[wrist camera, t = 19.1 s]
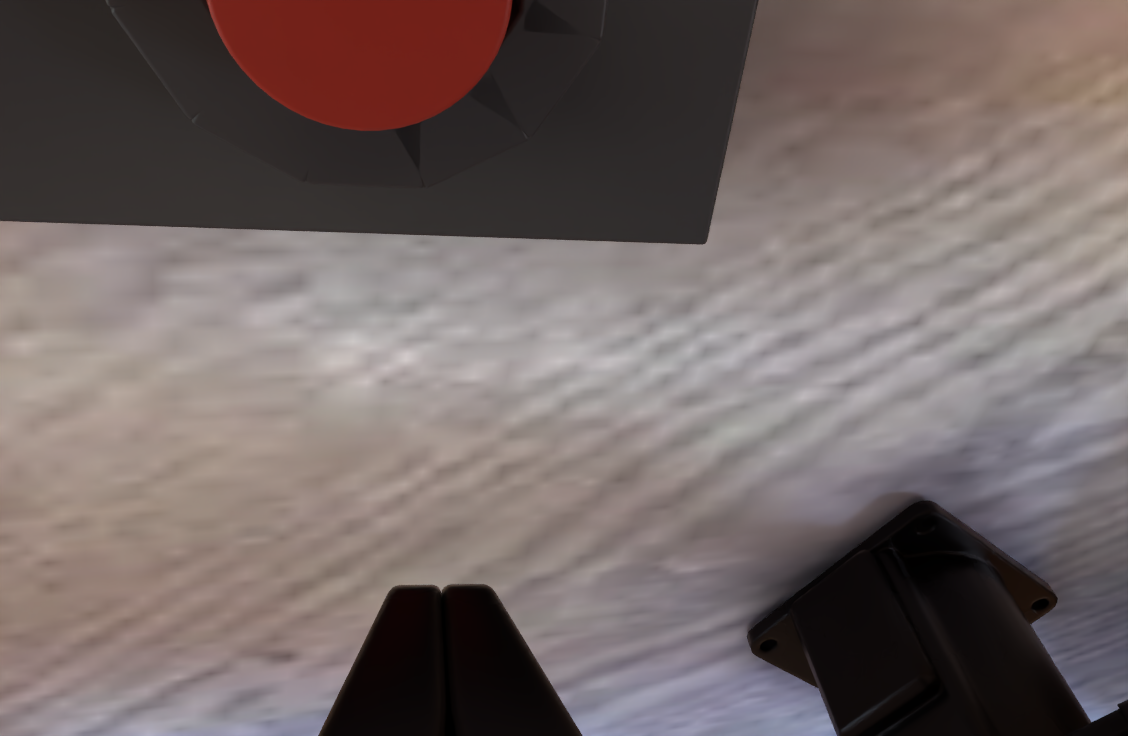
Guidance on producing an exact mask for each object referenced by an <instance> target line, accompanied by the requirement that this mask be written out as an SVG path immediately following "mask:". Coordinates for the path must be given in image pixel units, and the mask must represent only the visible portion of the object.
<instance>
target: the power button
mask: <svg viewBox="0 0 1128 736" xmlns="http://www.w3.org/2000/svg"><path fill="white" fill-rule="evenodd" d="M512 1H513V0H207V4H208V7H209V11H210V14H211V17H212V19H213V22H214V24H215V26H216V29H217V31H218V33H219V36H220V37H221V39H222V41H223V43H224V44H225V46H226V48H227V49H228V51H229V53H230V54H231V56H232V57H233V58H234V60H235V61H236V62H237V64H238V65H239V66H240V68H241V69H242V70H243V71H244V72H245V73H246V74H247V76H248V77H249V78H250V79H251V80H252V81H253V82H254V83H255V84H256V85H257V86H258V87H260V88H261V89H262V90H263V91H264V92H266V93H267V94H268V95H269V96H270V97H272V98H273V99H275V100H276V101H278V102H279V103H281V104H282V105H284V106H285V107H287V108H288V109H290V110H292V111H294V112H296V113H298V114H300V115H302V116H304V117H306V118H309V119H312V120H314V121H317V122H320V123H323V124H326V125H330V126H334V127H338V128H343V129H351V130H360V131H381V130H388V129H395V128H401V127H405V126H409V125H412V124H416V123H419V122H421V121H424V120H426V119H429V118H431V117H434V116H435V115H437V114H439V113H441V112H442V111H444V110H446V109H448V108H449V107H451V106H452V105H453V104H455V103H456V102H457V101H459V100H460V99H461V98H463V97H464V96H465V95H466V94H467V93H468V92H469V91H470V90H471V89H472V88H473V87H474V86H475V85H476V84H477V83H478V82H479V80H480V79H481V78H482V77H483V75H484V74H485V73H486V72H487V70H488V69H489V67H490V65H491V64H492V62H493V60H494V59H495V57H496V55H497V54H498V51H499V49H500V47H501V44H502V42H503V39H504V37H505V34H506V31H507V27H508V23H509V20H510V15H511V8H512Z"/></svg>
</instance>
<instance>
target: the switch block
mask: <svg viewBox="0 0 1128 736" xmlns="http://www.w3.org/2000/svg"><path fill="white" fill-rule="evenodd" d="M757 5H758V0H513V1H512V8H511V15H510V20H509V23H508V27H507V31H506V34H505V37H504V39H503V42H502V44H501V47H500V49H499V51H498V54H497V55H496V57H495V59H494V60H493V62H492V64H491V65H490V67H489V69H488V70H487V72H486V73H485V74H484V75H483V77H482V78H481V79H480V80H479V82H478V83H477V84H476V85H475V86H474V87H473V88H472V89H471V90H470V91H469V92H468V93H467V94H466V95H465V96H464V97H463V98H461V99H460V100H459V101H457V102H456V103H455V104H453V105H452V106H451V107H449V108H448V109H446V110H444V111H442V112H441V113H439V114H437V115H435V116H434V117H431V118H429V119H426V120H424V121H421V122H419V123H416V124H412V125H409V126H405V127H401V128H395V129H388V130H381V131H360V130H351V129H343V128H338V127H334V126H330V125H326V124H323V123H320V122H317V121H314V120H312V119H309V118H306V117H304V116H302V115H300V114H298V113H296V112H294V111H292V110H290V109H288V108H287V107H285V106H284V105H282V104H281V103H279V102H278V101H276V100H275V99H273V98H272V97H270V96H269V95H268V94H267V93H266V92H264V91H263V90H262V89H261V88H260V87H258V86H257V85H256V84H255V83H254V82H253V81H252V80H251V79H250V78H249V77H248V76H247V74H246V73H245V72H244V71H243V70H242V69H241V68H240V66H239V65H238V64H237V62H236V61H235V60H234V58H233V57H232V56H231V54H230V53H229V51H228V49H227V48H226V46H225V44H224V43H223V41H222V39H221V37H220V36H219V33H218V31H217V29H216V26H215V24H214V22H213V19H212V17H211V14H210V11H209V7H208V4H207V0H0V221H19V222H49V223H79V224H109V225H139V226H169V227H198V228H228V229H258V230H288V231H318V232H347V233H377V234H407V235H437V236H467V237H497V238H526V239H556V240H586V241H616V242H646V243H676V244H705V243H706V242H707V238H708V233H709V229H710V224H711V219H712V215H713V210H714V205H715V201H716V196H717V191H718V187H719V182H720V177H721V173H722V168H723V163H724V159H725V154H726V149H727V145H728V140H729V135H730V131H731V126H732V121H733V117H734V112H735V107H736V103H737V98H738V93H739V89H740V84H741V79H742V75H743V70H744V65H745V61H746V56H747V51H748V47H749V42H750V37H751V33H752V28H753V23H754V19H755V14H756V9H757Z"/></svg>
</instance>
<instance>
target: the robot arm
mask: <svg viewBox="0 0 1128 736" xmlns="http://www.w3.org/2000/svg"><path fill="white" fill-rule="evenodd" d="M1057 600H1058V598H1057V596H1056V595H1055V593H1054V592H1053V590H1052V589H1051V587H1050V586H1049V585H1048V583H1046V582H1045V581H1043V580H1042V579H1041V578H1039V577H1038V576H1036V575H1035V574H1034V573H1032V572H1031V571H1029V570H1028V569H1027V568H1025V567H1024V566H1022V565H1021V564H1020V563H1018V562H1017V561H1016V560H1014V559H1013V558H1011V557H1010V556H1009V555H1007V554H1006V553H1004V552H1003V551H1002V550H1000V549H999V548H997V547H996V546H995V545H993V544H992V543H990V542H989V541H988V540H986V539H985V538H983V537H982V536H981V535H979V534H978V533H976V532H975V531H974V530H972V529H971V528H969V527H968V526H967V525H965V524H964V523H962V522H961V521H960V520H958V519H957V518H956V517H954V516H953V515H951V514H950V513H949V512H947V511H946V510H944V509H943V508H942V507H940V506H939V505H937V504H936V503H934V502H932V501H920V502H916V503H914V504H912V505H911V506H909V507H908V508H906V509H905V510H904V511H902V512H901V513H900V514H899V515H897V516H896V517H895V518H893V519H892V520H891V521H890V522H888V523H887V524H886V525H884V526H883V527H882V528H881V529H879V530H878V531H877V532H875V533H874V534H873V535H871V536H870V537H869V538H868V539H866V540H865V541H864V542H862V543H861V544H860V545H859V546H857V547H856V548H855V549H853V550H852V551H851V552H850V553H848V554H847V555H846V556H844V557H843V558H842V559H841V560H839V561H838V562H837V563H835V564H834V565H833V566H832V567H830V568H829V569H828V570H826V571H825V572H824V573H822V574H821V575H820V576H819V577H817V578H816V579H815V580H813V581H812V582H811V583H810V584H808V585H807V586H806V587H804V588H803V589H802V590H801V591H799V592H798V593H797V594H795V595H794V596H793V597H792V598H790V599H789V600H788V601H786V602H785V603H784V604H783V605H781V606H780V607H779V608H777V609H776V610H775V611H774V612H772V613H771V614H770V615H768V616H767V617H766V618H764V619H763V620H762V621H761V622H759V623H758V624H757V625H755V626H754V627H753V628H752V629H751V630H750V631H749V632H748V635H747V639H748V642H749V645H750V648H751V651H752V653H753V654H754V655H756V656H757V657H759V658H761V659H763V660H765V661H767V662H769V663H771V664H773V665H775V666H777V667H778V668H780V669H782V670H784V671H786V672H788V673H790V674H792V675H794V676H796V677H798V678H800V679H802V680H803V681H805V682H807V683H809V684H811V685H813V686H815V687H817V688H819V691H820V693H821V696H822V698H823V701H824V703H825V706H826V709H827V711H828V714H829V716H830V719H831V721H832V724H833V726H834V729H835V731H836V734H837V736H1128V700H1126V701H1124V702H1122V703H1120V704H1118V707H1119V708H1120V709H1118V710H1116V711H1114V712H1112V713H1110V714H1108V715H1106V716H1104V717H1102V718H1100V719H1098V720H1096V721H1094V722H1091V721H1090V719H1089V718H1088V716H1087V714H1086V713H1085V711H1084V710H1083V708H1082V706H1081V705H1080V703H1079V702H1078V700H1077V698H1076V697H1075V695H1074V694H1073V692H1072V690H1071V689H1070V687H1069V686H1068V684H1067V683H1066V681H1065V679H1064V678H1063V676H1062V675H1061V673H1060V671H1059V670H1058V668H1057V667H1056V665H1055V663H1054V662H1053V660H1052V659H1051V657H1050V655H1049V654H1048V652H1047V651H1046V649H1045V647H1044V646H1043V644H1042V643H1041V641H1040V639H1039V638H1038V636H1037V635H1036V633H1035V631H1034V630H1033V628H1032V627H1031V625H1030V624H1032V623H1033V622H1035V621H1036V620H1038V619H1039V618H1040V617H1042V616H1043V615H1045V614H1046V613H1048V612H1049V611H1050V610H1052V609H1053V608H1054V607H1055V605H1056V604H1057ZM318 736H582V734H581V732H580V731H579V729H578V728H577V726H576V724H575V723H574V721H573V719H572V718H571V716H570V714H569V713H568V711H567V709H566V708H565V706H564V705H563V703H562V701H561V700H560V698H559V696H558V695H557V693H556V691H555V690H554V688H553V686H552V685H551V683H550V681H549V680H548V678H547V677H546V675H545V673H544V672H543V670H542V668H541V667H540V665H539V663H538V662H537V660H536V658H535V657H534V655H533V654H532V652H531V650H530V649H529V647H528V645H527V644H526V642H525V640H524V639H523V637H522V635H521V634H520V632H519V630H518V629H517V627H516V626H515V624H514V622H513V621H512V619H511V617H510V616H509V614H508V612H507V611H506V609H505V607H504V606H503V604H502V603H501V601H500V599H499V598H498V596H497V594H496V593H495V591H494V590H493V589H492V588H491V587H490V586H488V585H485V584H454V585H447V586H446V587H444V589H443V590H442V593H441V591H440V589H439V588H438V587H437V586H435V585H399V586H395V587H393V588H392V589H391V590H390V591H389V593H388V594H387V596H386V598H385V600H384V602H383V604H382V606H381V608H380V611H379V613H378V615H377V617H376V619H375V621H374V623H373V625H372V627H371V629H370V631H369V633H368V635H367V637H366V639H365V641H364V643H363V645H362V647H361V649H360V651H359V653H358V656H357V658H356V660H355V662H354V664H353V666H352V668H351V670H350V672H349V674H348V676H347V678H346V680H345V682H344V684H343V686H342V688H341V690H340V692H339V694H338V696H337V698H336V701H335V703H334V705H333V707H332V709H331V711H330V713H329V715H328V717H327V719H326V721H325V723H324V725H323V727H322V729H321V731H320V733H319V735H318Z"/></svg>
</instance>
